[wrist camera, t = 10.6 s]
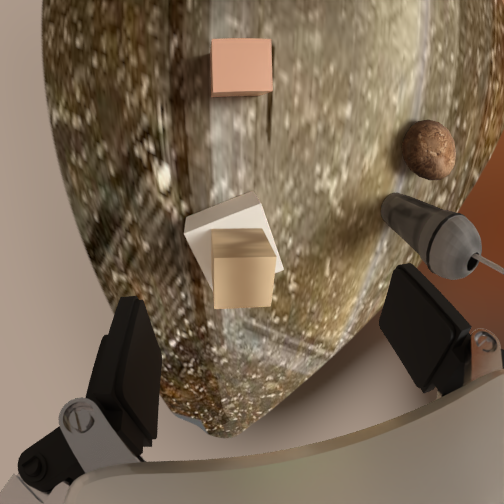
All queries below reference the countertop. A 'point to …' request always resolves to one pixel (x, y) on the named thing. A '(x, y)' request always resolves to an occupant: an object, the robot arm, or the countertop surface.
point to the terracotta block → (240, 67)
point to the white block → (226, 227)
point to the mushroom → (429, 150)
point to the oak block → (241, 268)
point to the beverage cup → (436, 236)
